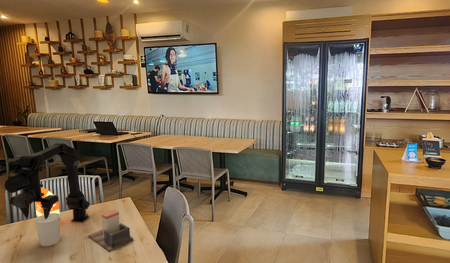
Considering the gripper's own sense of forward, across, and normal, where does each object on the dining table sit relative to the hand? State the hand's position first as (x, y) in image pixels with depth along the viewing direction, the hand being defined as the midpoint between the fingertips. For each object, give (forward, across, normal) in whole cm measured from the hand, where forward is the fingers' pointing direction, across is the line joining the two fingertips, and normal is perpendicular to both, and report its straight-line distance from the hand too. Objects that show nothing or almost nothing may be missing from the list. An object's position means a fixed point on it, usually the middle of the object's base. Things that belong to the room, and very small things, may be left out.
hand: (36, 218), depth 122 cm
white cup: (+15, 0, +6) cm, 16 cm away
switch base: (+15, +27, +12) cm, 33 cm away
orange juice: (+15, -12, +20) cm, 28 cm away
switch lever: (+13, +28, +11) cm, 33 cm away
